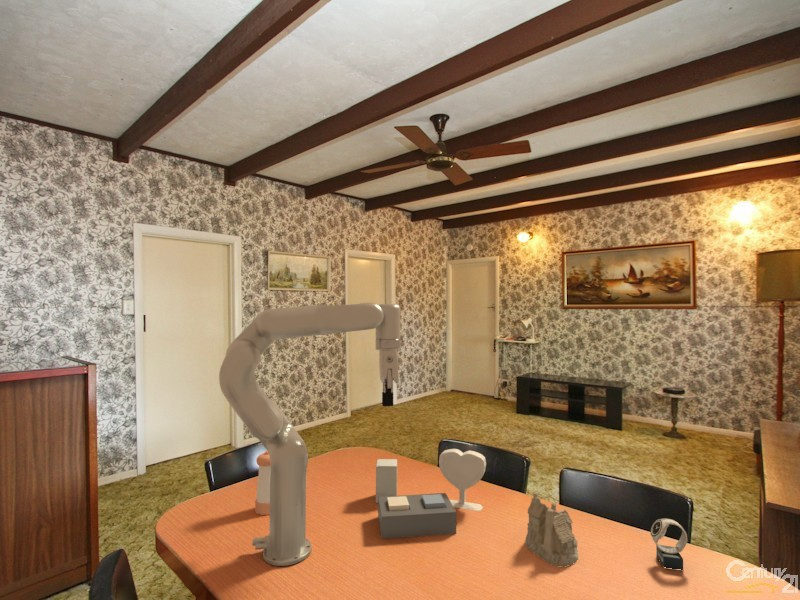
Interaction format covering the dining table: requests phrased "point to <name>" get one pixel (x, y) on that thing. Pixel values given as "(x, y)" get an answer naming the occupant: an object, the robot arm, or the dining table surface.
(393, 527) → the control pad
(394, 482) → the supplement box
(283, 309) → the robot arm
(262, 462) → the pepper shaker
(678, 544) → the watch
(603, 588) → the dining table surface
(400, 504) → the cream key
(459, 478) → the heart sculpture
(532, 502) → the ceramic cottage
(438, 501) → the slate blue key
